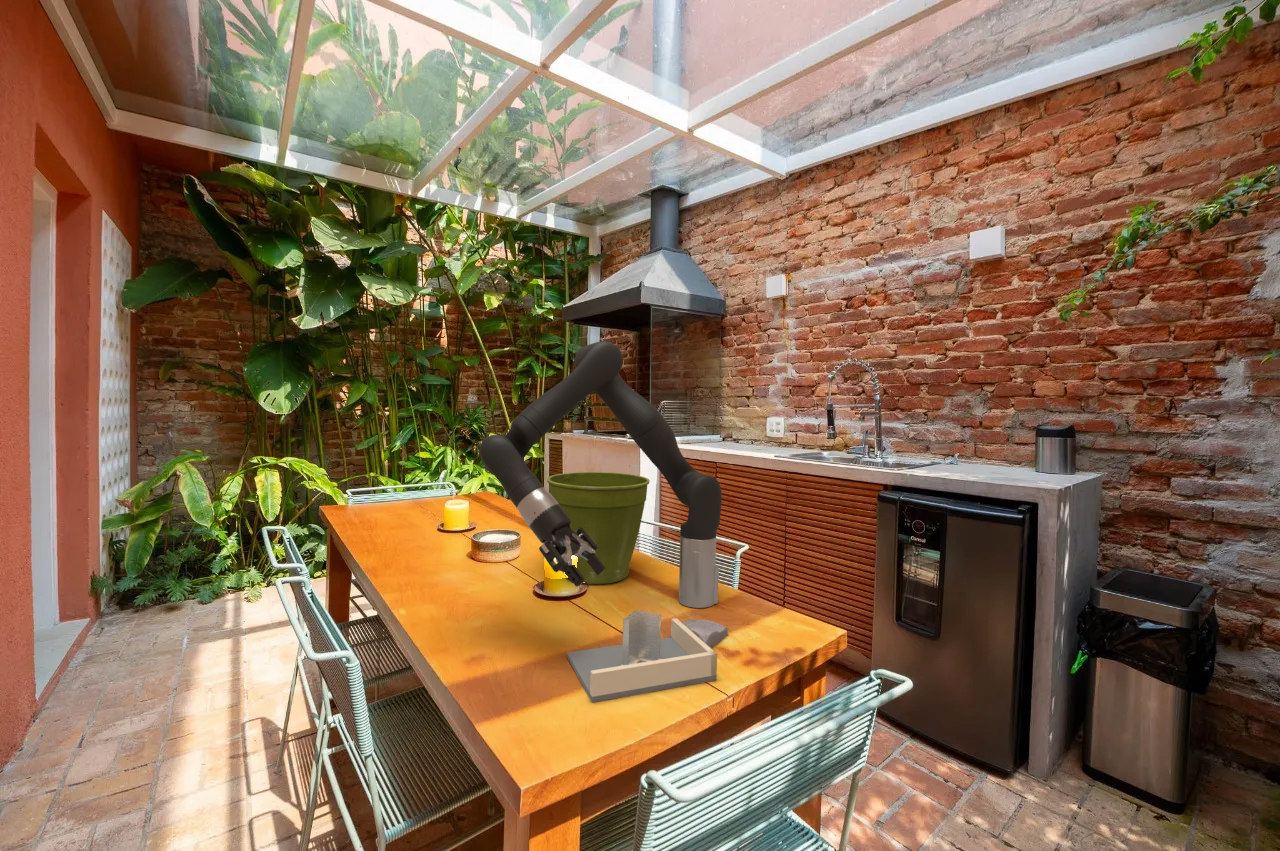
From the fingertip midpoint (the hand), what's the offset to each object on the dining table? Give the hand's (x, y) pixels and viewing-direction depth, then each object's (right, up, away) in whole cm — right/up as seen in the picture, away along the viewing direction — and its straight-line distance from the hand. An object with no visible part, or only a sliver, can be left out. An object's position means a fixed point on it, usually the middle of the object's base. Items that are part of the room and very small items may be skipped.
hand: (591, 577), depth 113 cm
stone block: (+22, -17, +11) cm, 30 cm away
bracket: (+10, -15, -4) cm, 19 cm away
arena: (+9, -17, -4) cm, 19 cm away
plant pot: (-3, -14, +54) cm, 56 cm away
